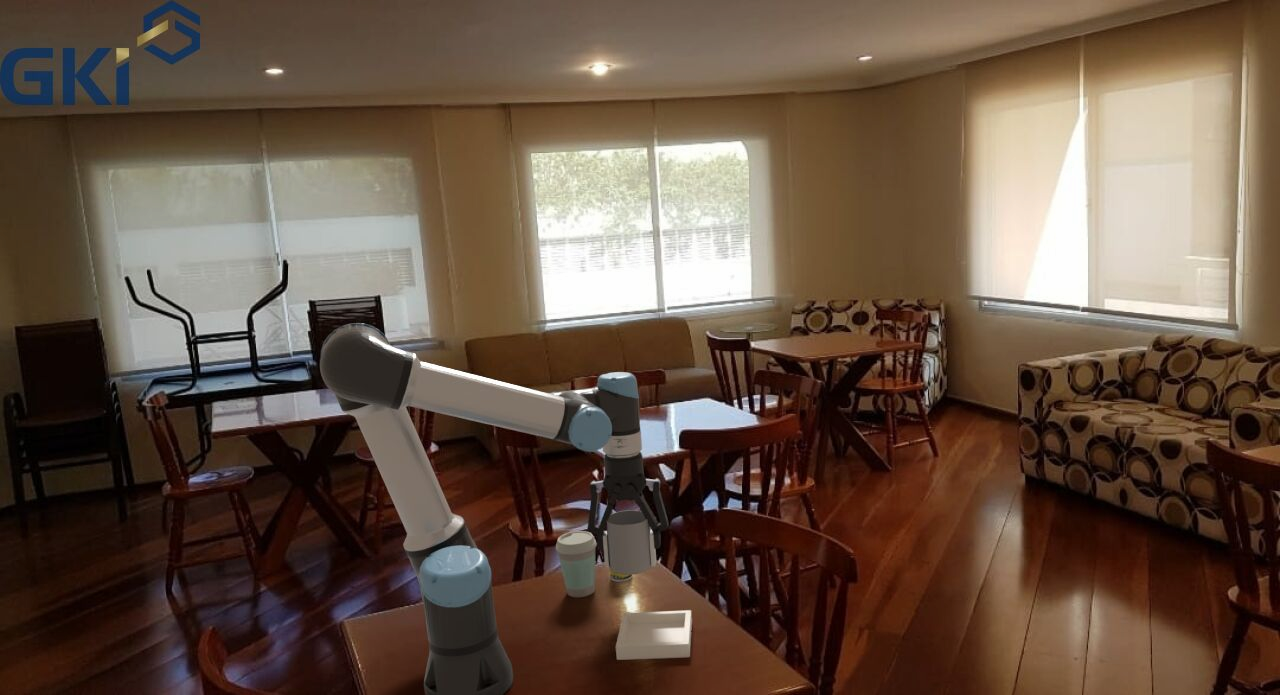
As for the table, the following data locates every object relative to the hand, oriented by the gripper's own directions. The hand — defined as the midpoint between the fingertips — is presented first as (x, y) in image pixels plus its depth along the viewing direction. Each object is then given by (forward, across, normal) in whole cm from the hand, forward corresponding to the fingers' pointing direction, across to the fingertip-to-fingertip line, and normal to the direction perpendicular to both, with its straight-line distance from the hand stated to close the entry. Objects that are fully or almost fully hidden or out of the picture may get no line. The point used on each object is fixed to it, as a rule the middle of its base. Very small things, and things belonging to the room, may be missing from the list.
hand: (630, 564), depth 178 cm
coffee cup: (+10, -12, +10) cm, 19 cm away
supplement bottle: (+10, -4, +16) cm, 20 cm away
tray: (+10, +5, -12) cm, 17 cm away
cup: (+1, 0, 0) cm, 1 cm away
